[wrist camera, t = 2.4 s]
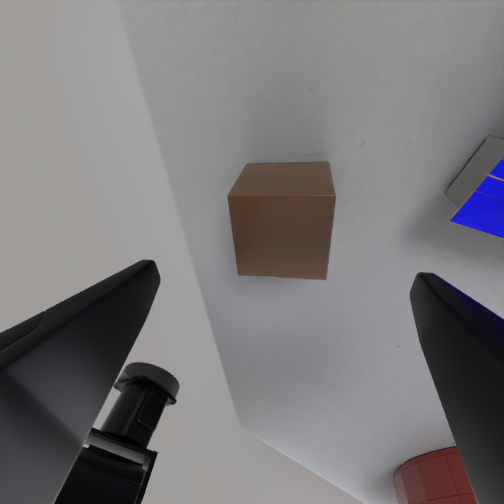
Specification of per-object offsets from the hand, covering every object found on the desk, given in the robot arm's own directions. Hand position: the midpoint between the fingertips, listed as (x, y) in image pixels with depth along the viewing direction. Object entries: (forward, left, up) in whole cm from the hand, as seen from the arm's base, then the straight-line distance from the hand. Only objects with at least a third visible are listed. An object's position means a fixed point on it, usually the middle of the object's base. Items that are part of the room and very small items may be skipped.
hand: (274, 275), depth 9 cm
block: (0, 0, -6) cm, 6 cm away
